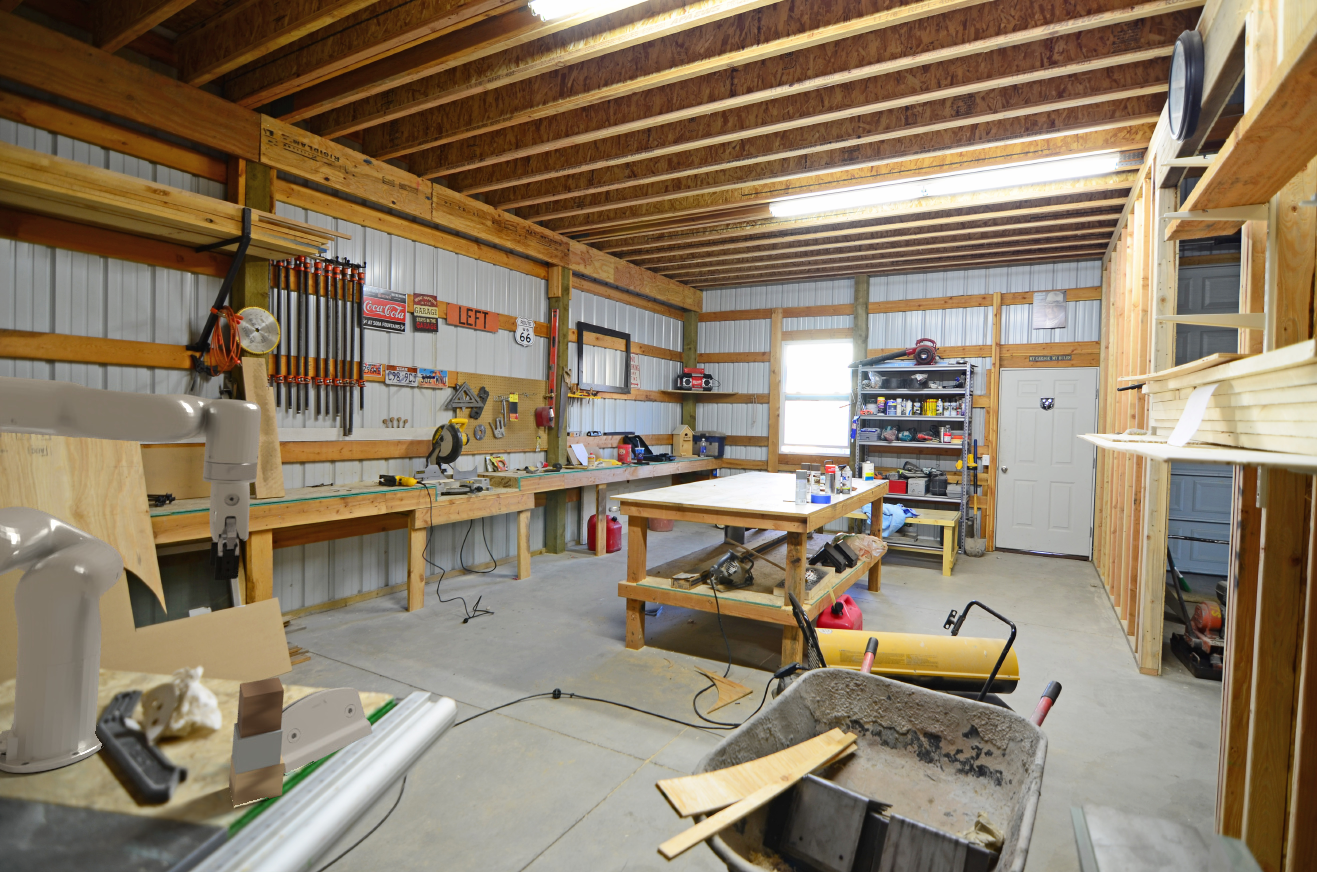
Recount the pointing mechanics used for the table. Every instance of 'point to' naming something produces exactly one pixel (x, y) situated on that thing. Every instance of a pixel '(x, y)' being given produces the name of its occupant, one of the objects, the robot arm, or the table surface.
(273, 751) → the grey block
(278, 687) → the walnut block
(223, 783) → the table surface
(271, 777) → the oak block
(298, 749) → the beige mounting bracket
